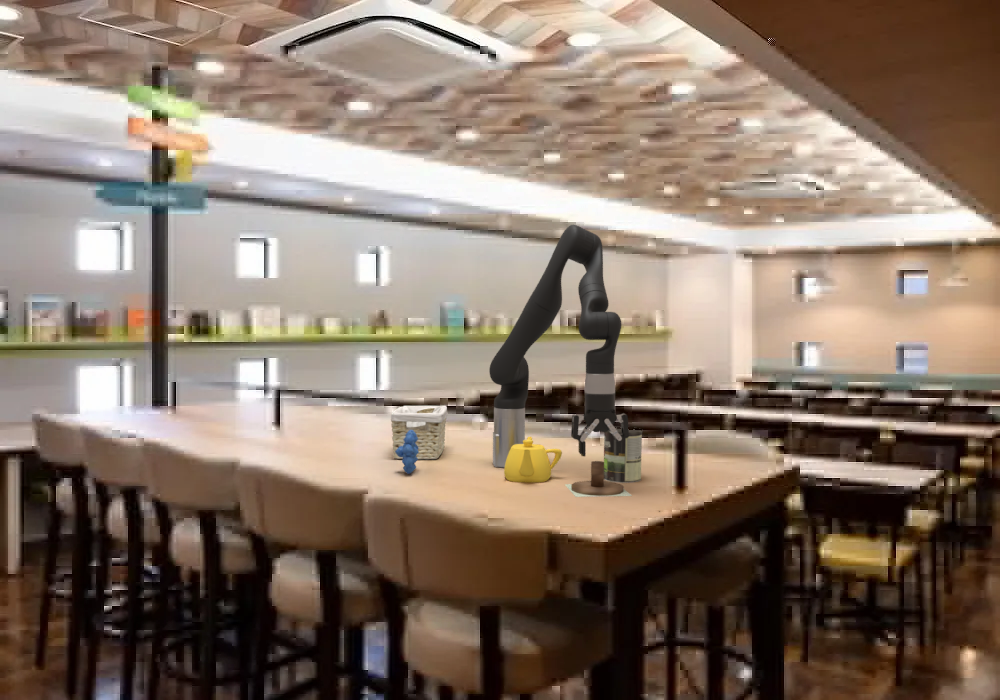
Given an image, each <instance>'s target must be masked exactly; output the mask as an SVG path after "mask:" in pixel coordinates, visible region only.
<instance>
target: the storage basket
mask: <svg viewBox="0 0 1000 700" xmlns="http://www.w3.org/2000/svg"><path fill="white" fill-rule="evenodd" d="M447 417H448V407H447V405H403V406H399V407H397V408H396V409H395V410H393V411H392V412H391V416H390V422H391V432H392V436H391V438H392V451H393V455H392V457H393V458H394V459H397V460H399V459H400V460H403V457H399V456H398V455H397V454H396V452H395V451H396V450H397V448H398V447H400V446H403V445H404V443H405V442H404V440H403V439H404V438H405V437H406V436H405V435H406V433H407V432H408V431H409V430H413V431H414V432H415V433H416V435H417V437H418V440H417V441H416V442H415V443H416V445H417V446H418V451H419V453H418V454H417V455H416V457H417V458H418V460H436V459H439V457H440V455H442V454H443V451H444V448H445V443H446V442H445V441H446V439H445V437H446V436H445V435H446V424H447V421H446V420H447Z"/></svg>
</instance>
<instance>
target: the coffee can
mask: <svg viewBox="0 0 1000 700" xmlns="http://www.w3.org/2000/svg"><path fill="white" fill-rule="evenodd" d="M615 427H616V428H615V429H616V430H617V432H618V433H619V434H621V429H617V427H618V426H615ZM619 427H620V428H621V426H619ZM628 430H629V429H628ZM603 437H604V438H603V440H604V441H603V462H604V481H608V482H614V483H618V484H621V483H622V484H625V483H626V484H627V483H628V484H629V483H637V482H640V481H642V448H643V447H642V446H643V444H642V443H643V440H642V439H643V430H642V431H641V430H635V429H633V430H629V437H628V438H625V439H623V440H622V441H621V453H619V456H615V455H614V440H615V438H614V436H613V435H612V434H611V433H610V432H609V431H607V432H603Z"/></svg>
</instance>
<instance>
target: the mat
mask: <svg viewBox="0 0 1000 700" xmlns="http://www.w3.org/2000/svg"><path fill="white" fill-rule="evenodd" d="M572 484H573V483H567V484H565V483H564V486H565V487H566V488H567V489H568V490H569V491H570V493H571V494H572V495H573V496H574V497H575V498H585V497H586V498H587V497H588V498H590V497H594V498H595V497H596V498H598V497H603V496H594V495H585V494H580V493H576V492H574V491H572V490H571V485H572ZM632 496H633V495H632V494H631V493H630V492H628V491H627V490H626V489H625V488H624V489H623V492H622V493H620V494H617V495H608V496H607V497H632Z"/></svg>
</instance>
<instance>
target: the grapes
mask: <svg viewBox="0 0 1000 700" xmlns="http://www.w3.org/2000/svg"><path fill="white" fill-rule="evenodd" d="M405 436H406V437H405V438H404V439H403V440H404V442H405V443H404V445H403V446H400V447H398V448H397V450H396V451H395V452H396V454H397V455H398V456H399V457H403V459H401V462H402V464H403V465H404V466H403V467H402V469H403V471H404V472H405V473H406V474H407V475H409V474H411V473H413V472H414V471H415V470H416V469H417V466H416V464H415V463H416V462H418V460H419V459H418V458H417V457H416V455H417V454H418V453H419V451H418V446H417V445H416V443H415V442H416V441H417V440H418V437H417V435H416V433H415V432H414V431H413V430H409V431H408V432H407V433H406V435H405Z"/></svg>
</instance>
